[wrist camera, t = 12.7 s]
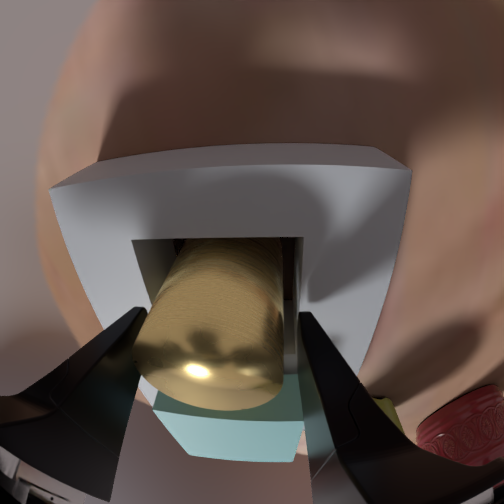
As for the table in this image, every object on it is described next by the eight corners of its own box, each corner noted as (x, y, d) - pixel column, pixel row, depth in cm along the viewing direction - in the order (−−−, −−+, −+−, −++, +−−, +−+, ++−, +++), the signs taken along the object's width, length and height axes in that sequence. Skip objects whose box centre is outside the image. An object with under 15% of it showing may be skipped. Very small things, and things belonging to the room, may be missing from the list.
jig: (374, 146, 10) (412, 170, 7) (328, 388, 19) (332, 428, 16) (96, 162, 11) (48, 189, 8) (172, 383, 20) (162, 420, 17)
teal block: (302, 374, 12) (304, 421, 9) (292, 429, 15) (292, 461, 13) (165, 367, 12) (151, 409, 10) (195, 424, 16) (189, 454, 14)
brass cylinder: (282, 204, 12) (286, 328, 6) (281, 285, 14) (280, 412, 8) (182, 206, 12) (109, 318, 6) (197, 284, 15) (157, 402, 9)
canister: (492, 403, 24) (516, 496, 9) (417, 440, 28) (430, 537, 13) (505, 367, 18) (545, 492, 4) (408, 419, 23) (426, 553, 8)
